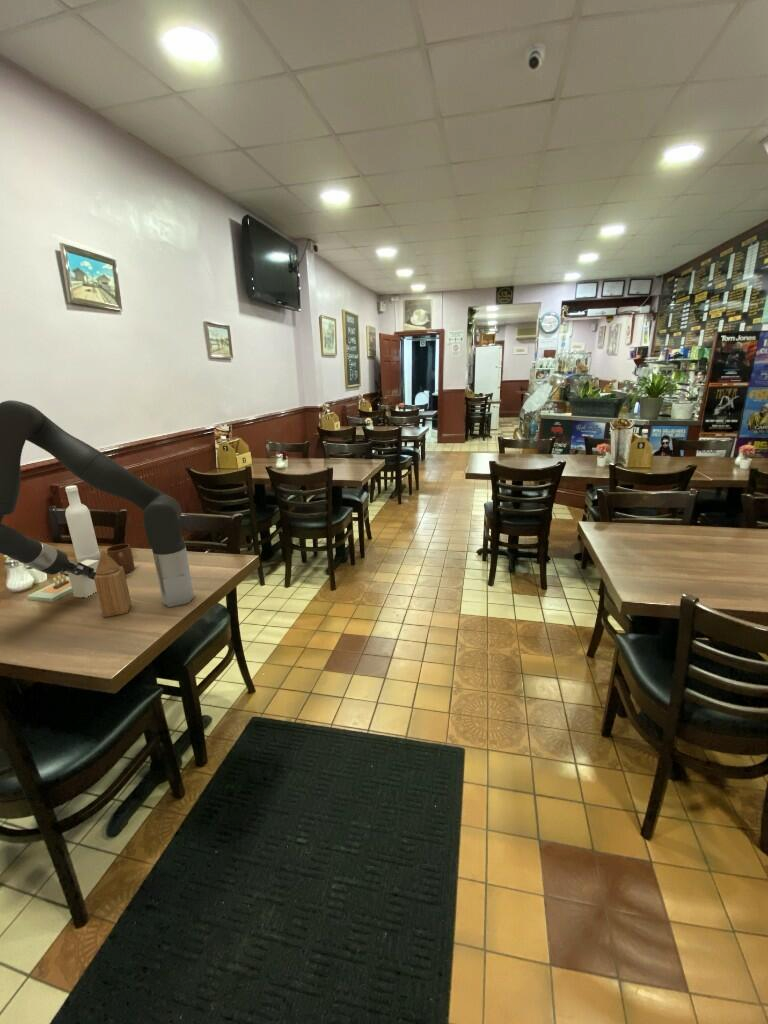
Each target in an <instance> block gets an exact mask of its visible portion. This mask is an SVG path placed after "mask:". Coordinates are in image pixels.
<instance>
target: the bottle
mask: <svg viewBox="0 0 768 1024" xmlns="http://www.w3.org/2000/svg"><path fill="white" fill-rule="evenodd" d="M64 489H65V493H66V495H67V496H66V497H67V499H68V504H69V505H68V507H66V509H65V514H64V515H65V519H66V523H67V527H68V530H69V535H70V537H71V542H72V545H73V546H72V547H73V550H74V553H75V554H74V555H75V559H76V561H77V562H76V563H77V564H78V563H80V562H83V561H85V560H98V559H99V560H100V558H101V552H100V550H99V546H98V541H97V537H96V533H95V528H94V524H93V520H92V516H91V512H90V509H89V508H88V506H87V505H85V504H83V503H82V502H81V498H80V494H79V488H78V485H67V486H66V487H65V488H64Z"/></svg>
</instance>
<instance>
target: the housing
mask: <svg viewBox="0 0 768 1024" xmlns="http://www.w3.org/2000/svg"><path fill="white" fill-rule="evenodd" d="M99 561H100V559H99V560H85V561H83V562H80V563H82V564H84V565H86V566H89V567H91V568H93V569H94V571H93V572H95V573H96V569H97V566H98V563H99ZM74 573H77V571H75V572H74ZM68 576H69V579H70V583H71V587H72V590H73V591H72V594H73V597H74V598H82V597H85V598H84V599H87V598H89V597H90V595H91V596H93V595H94V594H96V593H97V589H96V585H95V581H94V580H92V579H90V578H88V577H85V576H82V575H79V576H76V575H72V574H68ZM95 592H96V593H95ZM93 593H94V594H93ZM88 596H89V597H88Z"/></svg>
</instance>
